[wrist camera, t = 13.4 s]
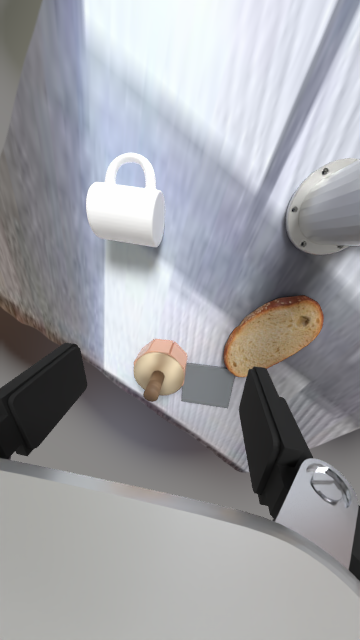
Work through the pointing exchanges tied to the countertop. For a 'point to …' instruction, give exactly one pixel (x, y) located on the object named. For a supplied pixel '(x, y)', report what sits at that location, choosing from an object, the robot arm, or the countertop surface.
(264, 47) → the countertop surface
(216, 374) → the mat
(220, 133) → the countertop surface
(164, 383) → the lid
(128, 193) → the mug
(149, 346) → the bowl
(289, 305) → the bread slice
